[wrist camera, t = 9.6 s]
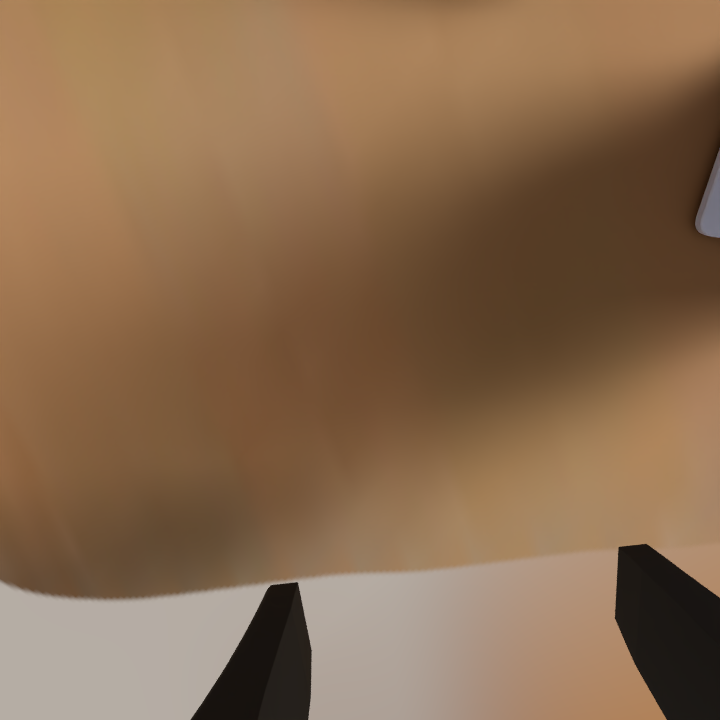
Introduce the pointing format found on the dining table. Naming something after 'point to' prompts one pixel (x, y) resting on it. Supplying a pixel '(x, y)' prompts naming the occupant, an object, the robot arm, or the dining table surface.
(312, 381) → the dining table surface
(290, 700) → the robot arm
